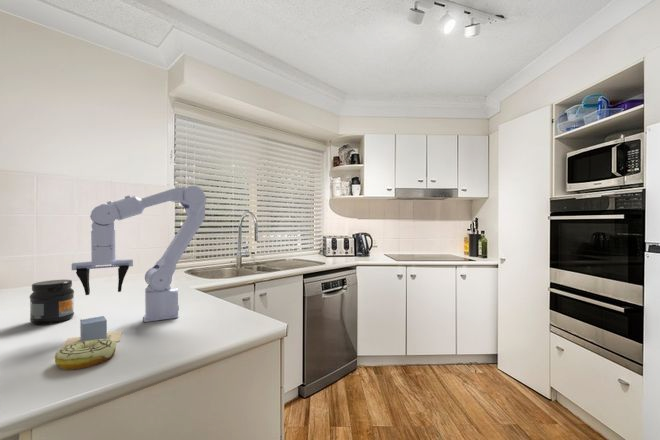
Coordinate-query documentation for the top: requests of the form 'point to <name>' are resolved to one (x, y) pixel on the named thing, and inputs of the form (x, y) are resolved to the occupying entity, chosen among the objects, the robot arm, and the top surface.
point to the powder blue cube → (93, 328)
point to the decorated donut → (85, 353)
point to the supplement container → (51, 302)
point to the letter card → (111, 335)
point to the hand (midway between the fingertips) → (103, 292)
